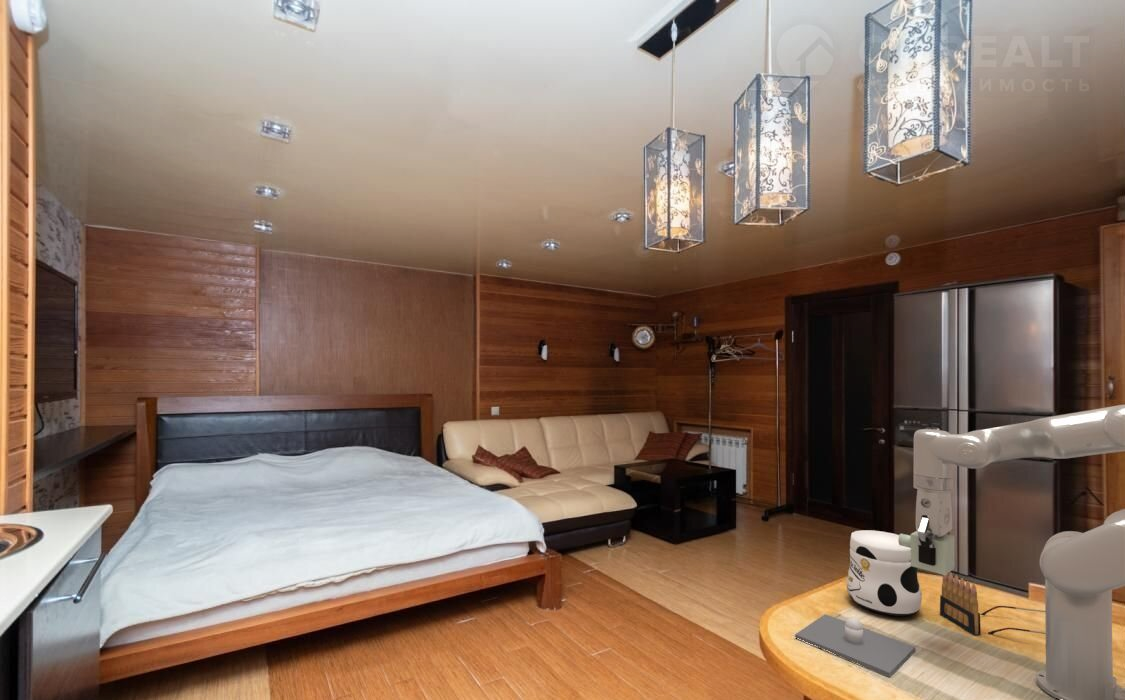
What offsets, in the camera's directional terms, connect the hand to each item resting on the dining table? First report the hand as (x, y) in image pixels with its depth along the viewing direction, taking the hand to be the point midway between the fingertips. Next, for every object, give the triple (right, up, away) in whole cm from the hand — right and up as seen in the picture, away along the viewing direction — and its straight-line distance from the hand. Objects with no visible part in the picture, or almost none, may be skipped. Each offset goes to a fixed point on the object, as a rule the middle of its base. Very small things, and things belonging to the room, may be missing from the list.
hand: (932, 559), depth 123 cm
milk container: (0, -21, +19) cm, 28 cm away
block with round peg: (-1, -2, +1) cm, 2 cm away
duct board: (-18, -20, 0) cm, 27 cm away
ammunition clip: (+14, -20, +10) cm, 26 cm away
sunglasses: (+27, -21, +6) cm, 35 cm away
